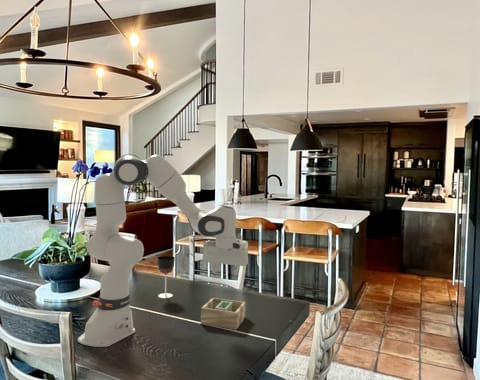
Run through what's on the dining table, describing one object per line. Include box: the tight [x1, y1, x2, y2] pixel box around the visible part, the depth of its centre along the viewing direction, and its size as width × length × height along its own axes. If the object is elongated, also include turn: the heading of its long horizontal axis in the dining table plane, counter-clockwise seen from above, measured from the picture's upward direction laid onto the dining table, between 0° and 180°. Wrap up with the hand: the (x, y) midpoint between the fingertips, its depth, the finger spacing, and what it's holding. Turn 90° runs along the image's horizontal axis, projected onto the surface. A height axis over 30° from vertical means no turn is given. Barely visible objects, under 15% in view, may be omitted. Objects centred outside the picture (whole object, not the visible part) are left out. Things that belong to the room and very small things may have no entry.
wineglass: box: [157, 255, 176, 299], centre depth 194 cm, size 8×9×20 cm
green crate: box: [215, 301, 233, 311], centre depth 164 cm, size 9×5×6 cm, turn 164°
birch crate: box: [200, 297, 247, 330], centre depth 164 cm, size 14×16×7 cm
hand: (224, 273), depth 163 cm, fingers open, 8 cm apart
